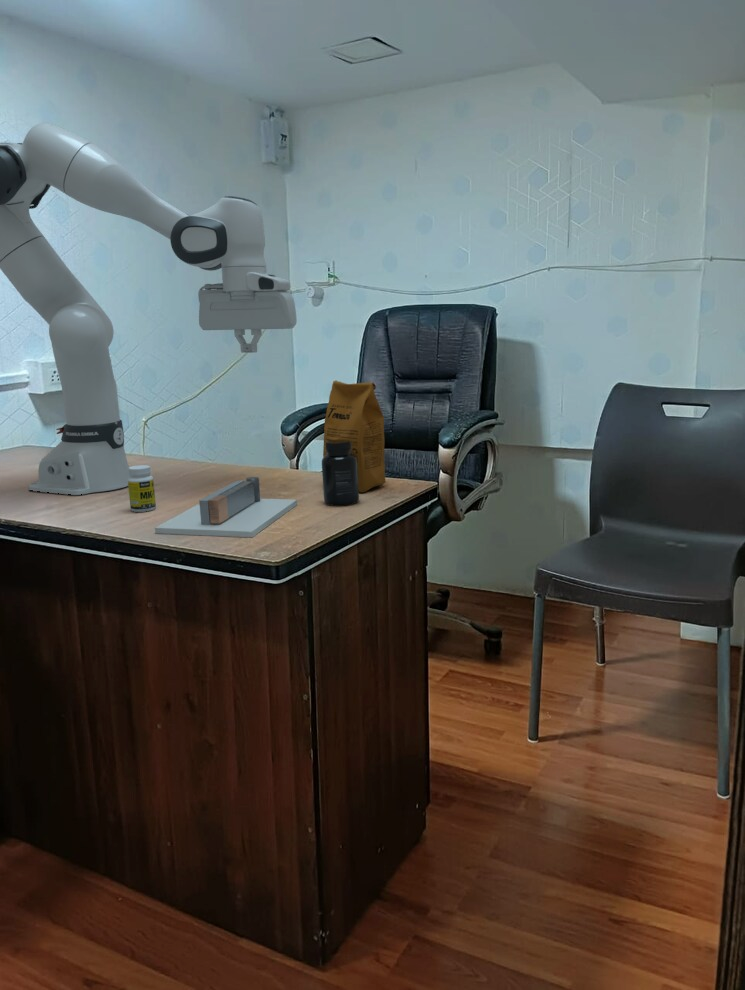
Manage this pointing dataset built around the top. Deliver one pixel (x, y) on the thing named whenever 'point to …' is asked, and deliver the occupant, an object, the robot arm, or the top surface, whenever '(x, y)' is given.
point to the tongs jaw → (231, 502)
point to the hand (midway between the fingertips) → (249, 352)
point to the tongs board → (236, 525)
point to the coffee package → (358, 429)
